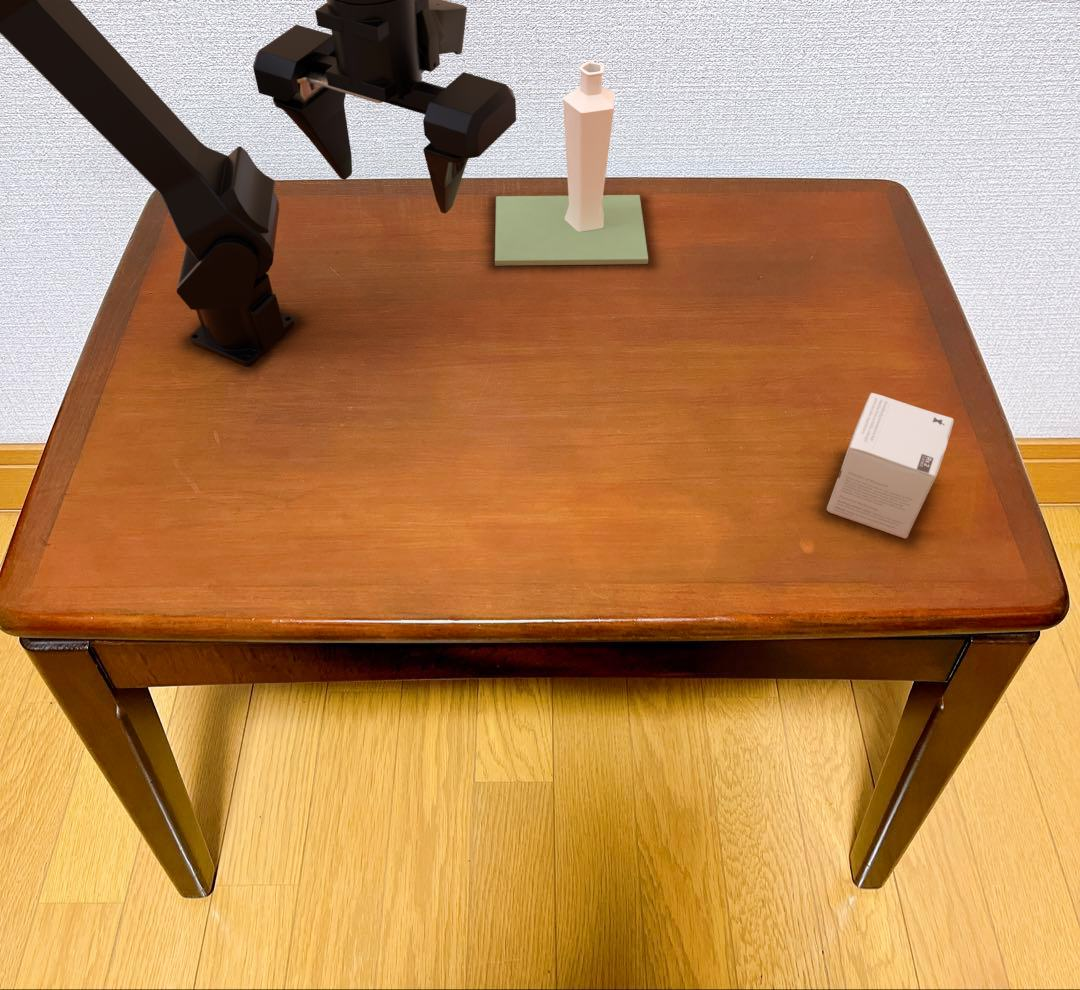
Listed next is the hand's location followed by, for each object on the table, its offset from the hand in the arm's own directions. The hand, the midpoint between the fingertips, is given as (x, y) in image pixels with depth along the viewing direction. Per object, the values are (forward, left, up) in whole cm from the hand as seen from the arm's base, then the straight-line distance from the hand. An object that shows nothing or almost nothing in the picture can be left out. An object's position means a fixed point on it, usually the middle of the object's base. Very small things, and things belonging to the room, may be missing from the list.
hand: (395, 193), depth 78 cm
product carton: (+41, 0, -13) cm, 43 cm away
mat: (+6, +18, -13) cm, 23 cm away
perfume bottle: (+7, +20, -13) cm, 24 cm away
